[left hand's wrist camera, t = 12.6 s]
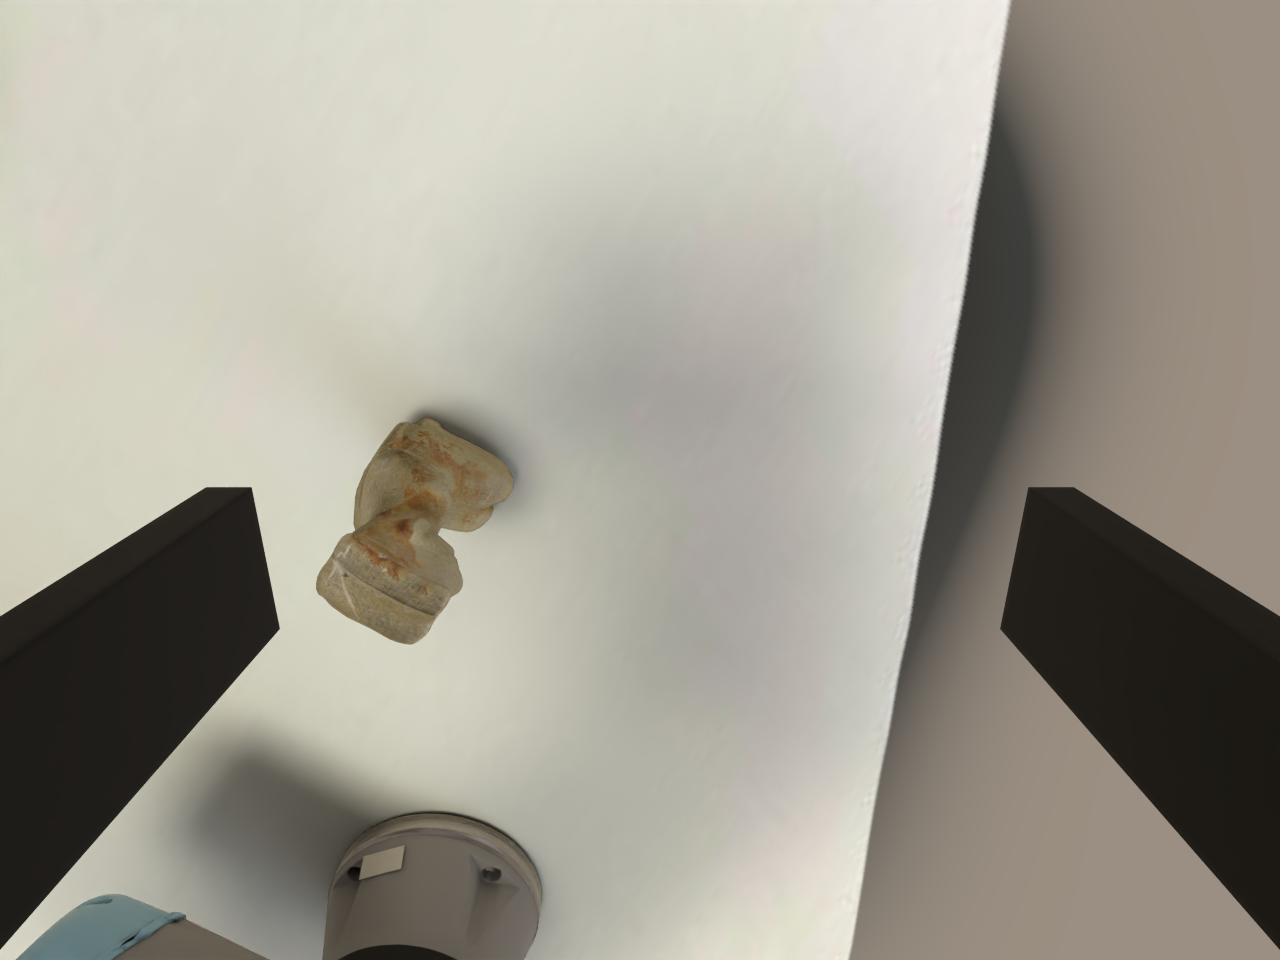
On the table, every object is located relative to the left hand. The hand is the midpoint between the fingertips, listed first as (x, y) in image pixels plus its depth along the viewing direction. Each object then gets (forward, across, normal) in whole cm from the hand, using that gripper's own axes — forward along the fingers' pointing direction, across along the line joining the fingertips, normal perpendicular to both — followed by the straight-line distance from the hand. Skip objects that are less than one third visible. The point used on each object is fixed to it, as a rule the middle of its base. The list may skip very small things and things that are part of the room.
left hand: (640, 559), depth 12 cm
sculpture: (+29, +11, +8) cm, 32 cm away
